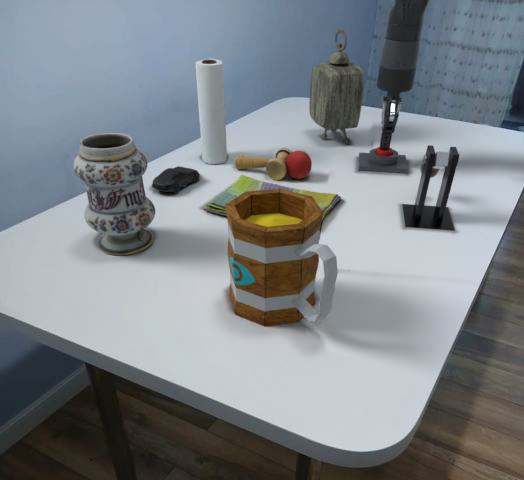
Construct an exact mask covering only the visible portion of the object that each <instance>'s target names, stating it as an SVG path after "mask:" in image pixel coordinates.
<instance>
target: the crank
mask: <svg viewBox="0 0 524 480" xmlns="http://www.w3.org/2000/svg"><path fill="white" fill-rule="evenodd" d="M435 153H436V155H435V160H434V164H433V168H432V173H431V177H430V179H432V178H434V177H436V176H437V175H438V174H439V171H440V170H445V168H446V167H448V162H449V155H450V152H449V151H435ZM422 169H423V163H422V164H421V165H420V175H421V174H422Z"/></svg>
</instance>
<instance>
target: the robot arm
mask: <svg viewBox="0 0 524 480" xmlns="http://www.w3.org/2000/svg"><path fill="white" fill-rule="evenodd" d="M429 3H430V0H395V1H394V3H393V4H391V6H390V8H389V11H388V15H387V19H386V20H387V21H386V27H385V35H384V41H383V44H382V48H381V53H380V60H379V67H378V75H377V81H376V87H377V89H378V90H380V91H383V92H386V96H383V97H382V101H381V104H382V108H381V115H380V117H381V128H380V129H381V133H380V134H381V135H380V141H379V147H380V149H381V150H389V149H390V148H391V143H392V137H393V134H394V133H395V131H396V126H397V123H398V121H399V116H400V111H401V109H402V106H403V100H402V97H401V94H402V93H407V92H410V91H412V89H413V88H414V81H415V77H416V72H417V66H418V61H419V57H420V49H421V48H420V47H421V46H420V45H421V37H422V33H423V28H424V27H423V26H424V21H425V15H426V10H427V8H428V5H429Z"/></svg>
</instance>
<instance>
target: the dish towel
mask: <svg viewBox="0 0 524 480" xmlns="http://www.w3.org/2000/svg"><path fill="white" fill-rule="evenodd" d="M280 188H281V189H285V190H289V191H292V192H296V193H300V194H304V195H308V196H312V197H313V198H314V200H315V201H316V203H317V204H318V205H319V207H320V208H321V210H322V211H323V217H322V222H323V220H324V218H325V217H326V215H328V213H329V212H330V210H331V209H332V208H334V206H335V205H336V203H337V202H341V201H342V197H341V196H340V195H339V194H338V193H330V192H319V191H318V192H317V191H310V190H305V189H298V188H294V187H293V188H292V187H288V186H284V185H280V184H277V183H271V182H267V181H264V180H258V179H256V178H253V177H250V176H247V175H245V174H241V175H240V176H239V178H238V179H237V180H236V181H235V182H234V183H233V185H232V186H230V187H229V188H228V189H227V190H226V191H225V192H224V193H221V194H219V196H217V197H216V198H214V199H212V200H211V201H208V202H207V203H206V205H205V206H204V207H203V209H202V210H203V211H205V212H207V213H208V212H209V213H212V214H216V215H221V216H224V217H227V214H226V208H225V204H227V203H228V202H230V201H232V200H233V199H235V198H236V197H238V196H240V195H241V194H243V193H244V192H247V191H258V190H269V189H280Z"/></svg>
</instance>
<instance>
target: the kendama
mask: <svg viewBox="0 0 524 480" xmlns="http://www.w3.org/2000/svg"><path fill="white" fill-rule="evenodd" d="M234 163H235V167H236V169H237V170H246V169H264V168H265V172H266V174H267V176H268V177H269V178H270V179H272V180H274V181H280V180H283V179H284V178H285V177H286V175H288V176H289V177H290V178H292V179H295V180H302V179H304V178H306V177H307V176H308V175H310V173H311V171H312V167H313V163H312V158H311V156H310V155H309V154H308V153H307V152H306V151H303V150H294V151H292V150H290V149H289V148H287V147H282V148H280V149H278V150H277V152H276V153H275V156H274V157H273V158H265V157H259V156H257V157H255V156H246V155H245V156H244V155H237V156H236V157H235V161H234Z"/></svg>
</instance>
